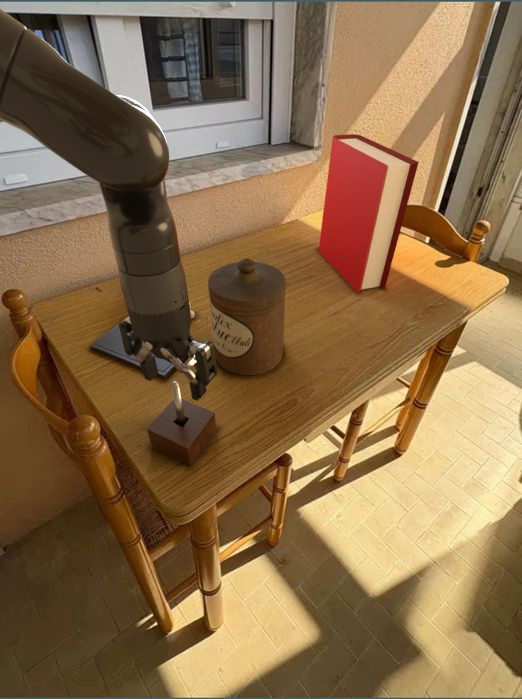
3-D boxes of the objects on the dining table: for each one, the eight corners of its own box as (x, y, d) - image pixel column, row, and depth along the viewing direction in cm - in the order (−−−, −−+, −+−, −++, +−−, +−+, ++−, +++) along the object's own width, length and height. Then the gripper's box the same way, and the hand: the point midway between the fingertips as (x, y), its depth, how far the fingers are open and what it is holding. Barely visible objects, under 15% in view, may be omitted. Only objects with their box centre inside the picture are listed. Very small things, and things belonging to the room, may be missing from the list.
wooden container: (201, 346, 84) (191, 255, 69) (256, 323, 91) (257, 235, 76) (238, 386, 75) (235, 291, 60) (296, 357, 82) (305, 266, 67)
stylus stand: (190, 466, 62) (187, 448, 58) (151, 447, 64) (146, 428, 61) (216, 430, 67) (214, 412, 64) (179, 414, 69) (176, 396, 66)
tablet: (164, 379, 76) (164, 375, 76) (90, 348, 83) (89, 345, 82) (198, 344, 84) (198, 341, 84) (128, 319, 91) (127, 316, 90)
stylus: (185, 442, 65) (175, 386, 56) (180, 440, 65) (168, 383, 56) (189, 437, 66) (180, 381, 57) (184, 435, 66) (173, 378, 57)
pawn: (187, 320, 91) (185, 306, 88) (182, 315, 93) (180, 301, 90) (196, 316, 92) (195, 303, 90) (191, 311, 94) (190, 298, 91)
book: (384, 289, 103) (418, 161, 82) (358, 293, 101) (386, 164, 80) (339, 245, 123) (357, 133, 102) (316, 248, 121) (330, 135, 100)
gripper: (89, 294, 46) (120, 386, 57) (186, 328, 41) (200, 421, 52) (131, 267, 51) (153, 356, 62) (222, 294, 46) (228, 386, 57)
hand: (174, 386), depth 57 cm, fingers open, 8 cm apart
